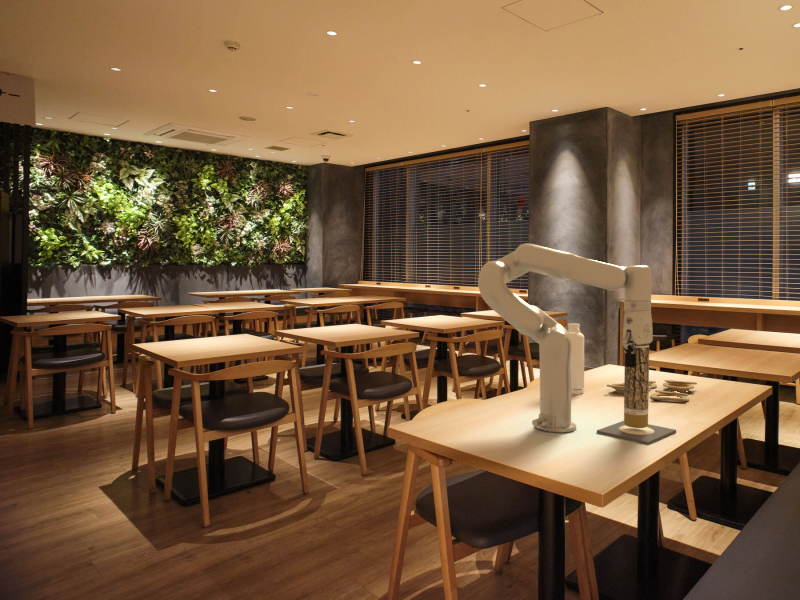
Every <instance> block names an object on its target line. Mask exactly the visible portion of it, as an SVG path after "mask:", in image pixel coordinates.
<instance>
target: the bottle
mask: <svg viewBox="0 0 800 600" xmlns="http://www.w3.org/2000/svg"><path fill="white" fill-rule="evenodd" d="M580 326H581V323H576V322H573V323H567V328H568V329H567V331H568V332H569V334H570V337H571V343H572V352H571V395H582V394H581V393H583V394H584V393H585V335H584V334H583V333H582V332H581V330H580Z"/></svg>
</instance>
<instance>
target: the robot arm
mask: <svg viewBox="0 0 800 600" xmlns="http://www.w3.org/2000/svg"><path fill="white" fill-rule="evenodd" d="M528 272H531V273H535V274H540V275H544V276H547V277H551V278H554V279H559V280H564V281H568V282H576V283H580V284H583V285H584V284H585V285H588V286H592V287H595V288H600V289H604V290H607V291H616V290H619V289H623V291H624V294H623V305H624V306H623V312H624V316H623V327H622V328H623V330H622V340H621V344H622V347H623V350H624V367H625V366H627V367H636V354H635V350H636V346H637V345H644V344H649V346H650V345H651V343H652V342H653V339H654V335H653V333H654V331H653V330H654V329H653V318H652V316H653V315H652V273H653V272H652V269H651V267H650V266H648V265H629V266H619V265H616V264H613V263H612V264H611V263H606V262H603V261H598V260H594V259H591V258H586V257H583V256H579V255H576V254H574V253H571V252H567V251H563V250H559V249H554V248H550V247H546V246H543V245H538V244H533V243H529V242H528V243H522V244H520V245H518V246H517V247H516V249H515V250H514V251H511V252H510V253H508V254H507V255H504V256H503V257H501V258H498V259H496V260H490V261H488V262H486V263H485V264H483V266H482V267H481V269H480V272H479V275H478V279H477V280H478V284H477V285H478V291H479V293H480V296H481V298H482V299H483V300H484V302H485V303H486V304H487V306H489V308H490V309H492V310H493V311H494V312H495V313H497V314H498V315H499V316H500V317H501V318H502V319H503V320H505V322H507V323H508V324H510V325H511V327H513V328H514V329H515V330H516V331H517V332H519V333H520V334H521V335H523V336H526V337H527V336H528V337H529V338H531V339H532V340H533V341H534V342H536V344H538V345H539V346H538V348H539V349H538V350H539V352H538V353H539V413H538V418H536V419H533V420H532V421H531V424H532V426H534V427H535V428H536V429H538V430H540V429H541V431H543V430H544V432H549V433H570V432H572V431H573V432H574V431H576V429H577V424H576V423H575V422H573V421H572V394H571V352H572V343H571V337H570V334H569V332H568V329H566V328H565V327H564V326H563V325H562V324H560V323H559V322H558V321H556V320H555V319H554V318H553V317H551V316H550V315H549V314H547V312H545V311H544V310H542V309H541V308H540V307H538V306H536V305H533V304H529V303H527V302H526V301H525V300H523V298H521V297H520V296H519V295H518V294H517V293H515V292H514V291H512V290H511V289H510V288H509V287H508V286H507V284H508V283H510V282H512V281H514V280H516V279H518V278H519V277H522V276H523V275H525V274H527V273H528ZM631 346H633V347H632V348H631Z"/></svg>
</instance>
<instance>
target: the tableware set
mask: <svg viewBox="0 0 800 600" xmlns="http://www.w3.org/2000/svg"><path fill="white" fill-rule="evenodd" d="M695 385H698V382H696V381H682V380H680V381H679V380H675V379H674V380H672V379H665V380H664V382H663V383H662V386H663V387H664V388H667V389H668V391H667V390H660V389H656V388H658V385H657V384H656V381H655V380H649V390H652V389H655V393H651V394H650V395H649V396H650V398H651V399H652V400H656V401H661V402H666V401H667V402H668V403H686V402H685V401H687V402H689V401H690V398H689V394H688V393H676V392H671V391H677V392H686V391H688V392H689V391H690V390H692V389H694V388H695ZM606 387H608V388H612V389H613V390H615V392H616V393H617V394H618V395H623V396H624V382H623V383H612V384H606ZM669 390H670V391H669ZM660 396H677V397H680V398H670V397H660ZM667 402H666V403H667Z"/></svg>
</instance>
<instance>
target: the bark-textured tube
mask: <svg viewBox="0 0 800 600" xmlns="http://www.w3.org/2000/svg"><path fill="white" fill-rule="evenodd" d="M632 347H633V346H631V348H632ZM635 354H636V367H627V366H625V365H624V382H623V383H624V395H623V399H624V400H623V404H624V405H623V421H624V424H625V425H626V426H628V427H632V428H645V427H647V426H648V424H649V396H650V395H649V394H650V393H649V390H650V389H649V381H650V378H649V377H650V345H649V344H644V345H637V346H636V350H635Z"/></svg>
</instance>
